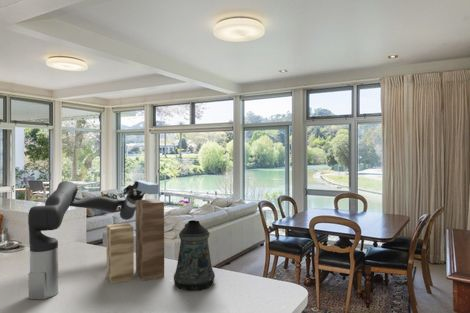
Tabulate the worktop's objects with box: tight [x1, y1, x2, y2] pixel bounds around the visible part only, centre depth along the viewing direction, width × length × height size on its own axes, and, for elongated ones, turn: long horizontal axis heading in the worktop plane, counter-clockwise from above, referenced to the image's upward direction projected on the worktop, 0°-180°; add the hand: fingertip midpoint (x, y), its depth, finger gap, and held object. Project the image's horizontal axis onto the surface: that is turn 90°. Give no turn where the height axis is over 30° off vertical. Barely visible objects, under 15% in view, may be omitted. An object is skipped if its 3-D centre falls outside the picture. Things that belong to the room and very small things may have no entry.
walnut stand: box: [135, 198, 165, 282], centre depth 147 cm, size 12×9×32 cm
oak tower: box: [105, 222, 135, 284], centre depth 143 cm, size 10×9×22 cm
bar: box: [133, 179, 160, 195], centre depth 151 cm, size 24×4×4 cm, turn 31°
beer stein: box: [173, 220, 216, 292], centre depth 137 cm, size 16×19×25 cm
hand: (142, 182), depth 156 cm, fingers closed on bar, 4 cm apart
